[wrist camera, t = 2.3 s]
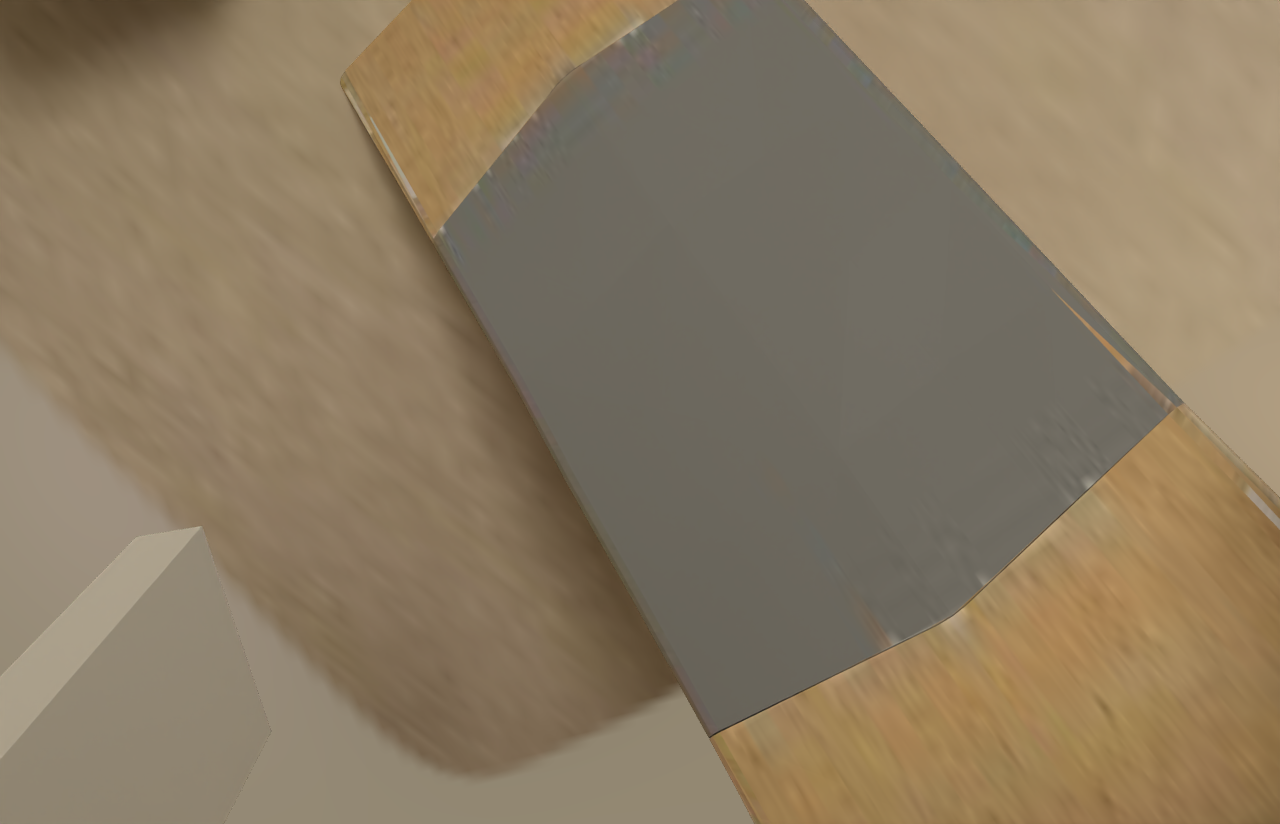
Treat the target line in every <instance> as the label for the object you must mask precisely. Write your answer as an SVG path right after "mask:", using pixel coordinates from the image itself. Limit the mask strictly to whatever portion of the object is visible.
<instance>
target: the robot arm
mask: <svg viewBox="0 0 1280 824" xmlns="http://www.w3.org/2000/svg"><path fill="white" fill-rule="evenodd" d="M270 733H271V729H270V726H269V723H268V720H267V717H266V714H265V711H264V709H263V705H262V703H261V699H260V697H259V693H258V690H257V687H256V685H255V682H254V679H253V676H252V673H251V670H250V667H249V664H248V661H247V658H246V655H245V652H244V649H243V646H242V643H241V640H240V637H239V634H238V631H237V628H236V626H235V622H234V619H233V617H232V613H231V610H230V607H229V604H228V601H227V598H226V595H225V593H224V590H223V587H222V584H221V581H220V578H219V575H218V572H217V569H216V566H215V563H214V560H213V557H212V554H211V551H210V548H209V545H208V542H207V539H206V536H205V533H204V530H203V527H202V526H199V527H193V528H187V529H181V530H175V531H169V532H163V533H157V534H151V535H144V536H138V537H136V538H135V539H134V540H133V541H132V542H131V543H130V544H129V545H128V546H127V547H126V548H125V549H124V550H123V551H122V552H121V553H120V554H119V556H117V557H116V558H115V559H114V560H113V561H112V562H111V563H110V565H108V567H106V569H105V570H104V571H103V572H102V573H101V574H100V575H99V576H98V577H97V578H96V579H95V580H94V581H93V582H92V583H91V584H90V585H89V586H88V587H87V588H86V589H85V590H84V591H83V592H82V593H81V594H80V595H79V596H78V597H77V598H76V599H75V600H74V601H73V602H72V603H71V604H70V605H69V606H68V607H67V608H66V610H65V611H64V612H63V613H62V614H61V615H60V616H59V617H58V618H57V619H56V620H55V621H54V622H53V623H52V624H51V625H50V626H49V627H48V628H47V629H46V630H45V631H44V632H43V633H42V634H41V635H40V636H39V637H38V638H37V639H36V640H35V641H34V642H33V643H32V644H31V645H30V647H29V648H27V650H26V651H25V652H24V653H23V654H22V655H21V656H20V657H19V658H18V659H17V660H16V661H15V662H14V663H13V664H12V665H11V666H10V667H9V668H8V669H7V670H6V671H5V672H4V673H3V674H2V675H1V676H0V824H224V822H225V820H226V819H227V817H228V815H229V813H230V811H231V809H232V807H233V805H234V803H235V801H236V799H237V797H238V795H239V793H240V791H241V789H242V787H243V786H244V784H245V782H246V780H247V778H248V776H249V774H250V772H251V770H252V768H253V766H254V764H255V762H256V760H257V758H258V756H259V754H260V753H261V751H262V748H263V747H264V745H265V743H266V741H267V739H268V737H269V735H270Z"/></svg>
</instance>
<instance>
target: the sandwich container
mask: <svg viewBox="0 0 1280 824" xmlns="http://www.w3.org/2000/svg"><path fill="white" fill-rule="evenodd" d="M340 84H341V87H342V89H343V90H344V92H345V94H346V95H347V97H348V99H349V101H350V102H351V104H352V106H353V107H354V109H355V111H356V112H357V114H358V116H359V118H360V119H361V121H362V123H363V124H364V126H365V128H366V129H367V131H368V133H369V135H370V136H371V138H372V140H373V141H374V143H375V145H376V146H377V148H378V150H379V152H380V153H381V155H382V157H383V158H384V160H385V162H386V163H387V165H388V167H389V169H390V170H391V172H392V174H393V175H394V177H395V179H396V180H397V182H398V184H399V186H400V187H401V189H402V191H403V193H404V194H405V196H406V198H407V200H408V201H409V203H410V205H411V206H412V208H413V210H414V212H415V213H416V215H417V217H418V219H419V220H420V222H421V224H422V226H423V227H424V229H425V231H426V233H427V234H428V236H429V238H430V239H431V241H432V243H433V245H434V246H435V248H436V250H437V252H438V253H439V255H440V257H441V259H442V260H443V262H444V264H445V266H446V267H447V269H448V271H449V273H450V274H451V276H452V278H453V280H454V281H455V283H456V285H457V287H458V288H459V290H460V292H461V293H462V295H463V297H464V299H465V300H466V302H467V304H468V306H469V307H470V309H471V311H472V313H473V314H474V316H475V318H476V320H477V321H478V323H479V325H480V327H481V328H482V330H483V332H484V334H485V335H486V337H487V339H488V341H489V342H490V344H491V346H492V348H493V349H494V351H495V353H496V355H497V356H498V358H499V360H500V362H501V363H502V365H503V367H504V368H505V370H506V372H507V374H508V375H509V377H510V379H511V381H512V382H513V384H514V386H515V388H516V390H517V391H518V393H519V395H520V397H521V399H522V401H523V403H524V404H525V406H526V408H527V410H528V412H529V414H530V416H531V417H532V419H533V421H534V423H535V425H536V427H537V429H538V430H539V432H540V434H541V436H542V438H543V440H544V442H545V443H546V445H547V447H548V449H549V451H550V453H551V455H552V456H553V458H554V460H555V462H556V464H557V466H558V468H559V469H560V471H561V473H562V475H563V477H564V479H565V481H566V482H567V484H568V486H569V488H570V490H571V492H572V493H573V495H574V497H575V499H576V500H577V502H578V504H579V506H580V508H581V509H582V511H583V513H584V515H585V516H586V518H587V520H588V522H589V523H590V525H591V527H592V529H593V531H594V532H595V534H596V536H597V538H598V539H599V541H600V543H601V545H602V547H603V548H604V550H605V552H606V554H607V555H608V557H609V559H610V561H611V562H612V564H613V566H614V568H615V570H616V571H617V573H618V575H619V577H620V578H621V580H622V582H623V584H624V586H625V587H626V589H627V591H628V593H629V594H630V596H631V598H632V600H633V602H634V603H635V605H636V607H637V609H638V611H639V612H640V614H641V616H642V618H643V620H644V621H645V623H646V625H647V627H648V629H649V630H650V632H651V634H652V636H653V638H654V640H655V641H656V643H657V645H658V647H659V649H660V650H661V652H662V654H663V656H664V658H665V659H666V661H667V663H668V665H669V667H670V669H671V670H672V672H673V674H674V676H675V678H676V679H677V681H678V683H679V685H680V687H681V688H682V690H683V692H684V694H685V696H686V697H687V699H688V701H689V703H690V705H691V707H692V708H693V710H694V712H695V714H696V715H697V717H698V719H699V721H700V723H701V724H702V726H703V728H704V730H705V732H706V734H707V735H708V737H709V738H710V741H711V743H712V745H713V747H714V748H715V750H716V752H717V754H718V756H719V758H720V760H721V761H722V763H723V765H724V767H725V769H726V770H727V772H728V774H729V776H730V778H731V780H732V782H733V783H734V785H735V787H736V789H737V791H738V793H739V795H740V796H741V799H742V801H743V802H744V804H745V806H746V808H747V810H748V812H749V814H750V816H751V818H752V820H753V822H754V824H1280V497H1279V496H1278V495H1277V494H1276V493H1275V492H1274V491H1273V490H1272V489H1271V488H1269V486H1268V485H1266V484H1265V482H1264V481H1263V480H1262V479H1261V478H1259V476H1258V475H1256V473H1255V472H1254V471H1252V470H1251V469H1250V468H1249V467H1248V466H1247V465H1246V464H1245V463H1244V462H1243V461H1242V460H1241V459H1240V458H1239V457H1238V456H1237V455H1236V454H1235V453H1234V452H1233V451H1232V450H1231V449H1230V448H1229V447H1228V446H1227V445H1226V444H1225V443H1224V442H1223V441H1222V440H1221V439H1220V438H1219V437H1218V436H1217V435H1216V434H1215V433H1214V432H1213V431H1212V430H1211V429H1210V428H1209V427H1208V426H1207V425H1206V424H1205V423H1204V422H1203V421H1202V420H1201V419H1200V418H1199V417H1198V416H1197V415H1196V414H1195V413H1194V412H1193V411H1192V410H1191V409H1190V408H1189V407H1188V406H1187V405H1186V404H1185V403H1184V402H1183V401H1182V400H1181V399H1180V398H1179V397H1178V396H1177V395H1176V394H1175V393H1174V392H1173V390H1172V389H1171V388H1170V387H1169V386H1168V385H1167V384H1166V383H1165V382H1164V381H1163V380H1162V379H1161V378H1160V377H1159V376H1158V375H1157V374H1156V373H1155V371H1154V370H1153V369H1152V368H1151V367H1150V366H1149V365H1148V364H1147V363H1146V362H1145V361H1144V360H1143V359H1142V358H1141V357H1140V356H1139V355H1138V354H1137V352H1136V351H1135V350H1134V349H1133V348H1132V347H1131V346H1130V345H1129V344H1128V343H1127V342H1126V341H1125V340H1124V339H1123V338H1122V337H1121V336H1120V334H1119V333H1118V332H1117V331H1116V330H1115V329H1114V328H1113V327H1112V326H1111V325H1110V324H1109V323H1108V322H1107V321H1106V320H1105V319H1104V318H1103V317H1102V315H1101V314H1100V313H1099V312H1098V311H1097V310H1096V309H1095V308H1094V307H1093V306H1092V305H1091V304H1090V303H1089V302H1088V301H1087V300H1086V299H1085V298H1084V296H1083V295H1082V294H1081V293H1080V292H1079V291H1078V290H1077V289H1076V288H1075V287H1074V286H1073V285H1072V284H1071V283H1070V282H1069V281H1068V280H1067V278H1066V277H1065V276H1064V275H1063V274H1062V273H1061V272H1060V271H1059V270H1058V269H1057V268H1056V267H1055V266H1054V265H1053V264H1052V263H1051V261H1050V260H1049V259H1048V258H1047V257H1046V256H1045V255H1044V254H1043V253H1042V252H1041V251H1040V250H1039V249H1038V248H1037V247H1036V246H1035V244H1034V243H1033V242H1032V241H1031V240H1030V239H1029V238H1028V237H1027V236H1026V235H1025V234H1024V233H1023V232H1022V231H1021V230H1020V229H1019V227H1018V226H1017V225H1016V224H1015V223H1014V222H1013V221H1012V220H1011V219H1010V218H1009V217H1008V216H1007V215H1006V214H1005V213H1004V212H1003V210H1002V209H1001V208H1000V207H999V206H998V205H997V204H996V203H995V202H994V201H993V200H992V199H991V198H990V197H989V196H988V195H987V193H986V192H985V191H984V190H983V189H982V188H981V187H980V186H979V185H978V184H977V183H976V182H975V181H974V180H973V179H972V178H971V176H970V175H969V174H968V173H967V172H966V171H965V170H964V169H963V168H962V167H961V166H960V165H959V164H958V163H957V162H956V161H955V160H954V158H953V157H952V156H951V155H950V154H949V153H948V152H947V151H946V150H945V149H944V148H943V147H942V146H941V145H940V144H939V143H938V142H937V140H936V139H935V138H934V137H933V136H932V135H931V134H930V133H929V132H928V131H927V130H926V129H925V128H924V127H923V126H922V125H921V124H920V122H919V121H918V120H917V119H916V118H915V117H914V116H913V115H912V114H911V113H910V112H909V111H908V110H907V109H906V108H905V107H904V106H903V104H902V103H901V102H900V101H899V100H898V99H897V98H896V97H895V96H894V95H893V94H892V93H891V92H890V91H889V90H888V89H887V87H886V86H885V85H884V84H883V83H882V82H881V81H880V80H879V79H878V78H877V77H876V76H875V75H874V74H873V73H872V72H871V71H870V69H869V68H868V67H867V66H866V65H865V64H864V63H863V62H862V61H861V60H860V59H859V58H858V57H857V56H856V55H855V54H854V52H853V51H852V50H851V49H850V48H849V47H848V46H847V45H846V44H845V43H844V42H843V41H842V40H841V39H840V38H839V37H838V36H837V34H836V33H835V32H834V31H833V30H832V29H831V28H830V27H829V26H828V25H827V24H826V23H825V22H824V21H823V20H822V19H821V17H820V16H819V15H818V14H817V13H816V12H815V11H814V10H813V9H812V8H811V7H810V6H809V5H808V4H807V3H806V2H805V1H804V0H412V1H411V2H410V3H409V4H408V5H407V6H406V7H405V8H404V9H403V10H402V11H401V12H400V14H399V15H398V16H397V17H396V18H395V19H394V20H393V21H392V22H391V23H390V24H389V25H388V26H387V27H386V28H385V29H384V30H383V31H382V32H381V34H380V35H379V36H378V37H377V38H376V39H375V40H374V41H373V42H372V43H371V44H370V45H369V46H368V47H367V48H366V49H365V50H364V51H363V52H362V54H361V55H360V56H359V57H358V58H357V59H356V60H355V61H354V62H353V63H352V64H351V65H350V66H349V67H348V68H347V69H346V71H345V72H344V74H343V75H342V77H341V81H340Z"/></svg>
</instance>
